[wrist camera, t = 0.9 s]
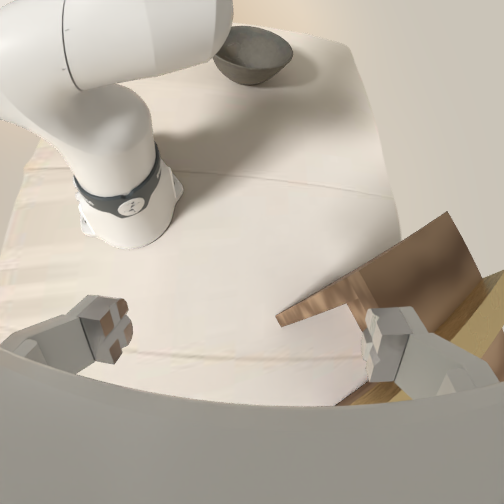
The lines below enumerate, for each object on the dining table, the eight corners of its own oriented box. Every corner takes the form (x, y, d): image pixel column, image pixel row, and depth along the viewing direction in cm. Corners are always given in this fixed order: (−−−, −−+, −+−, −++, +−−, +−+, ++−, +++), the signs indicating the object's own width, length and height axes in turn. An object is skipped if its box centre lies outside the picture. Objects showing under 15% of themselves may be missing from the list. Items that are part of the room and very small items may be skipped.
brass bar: (314, 429, 18) (336, 441, 14) (482, 278, 25) (506, 268, 21) (335, 464, 17) (359, 479, 14) (494, 306, 24) (518, 299, 21)
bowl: (227, 48, 67) (233, 18, 57) (292, 74, 67) (304, 44, 57) (187, 82, 60) (189, 48, 50) (262, 113, 60) (273, 79, 51)
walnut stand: (275, 315, 46) (358, 270, 22) (343, 276, 51) (447, 210, 26) (333, 419, 42) (446, 456, 18) (394, 372, 46) (513, 365, 22)
